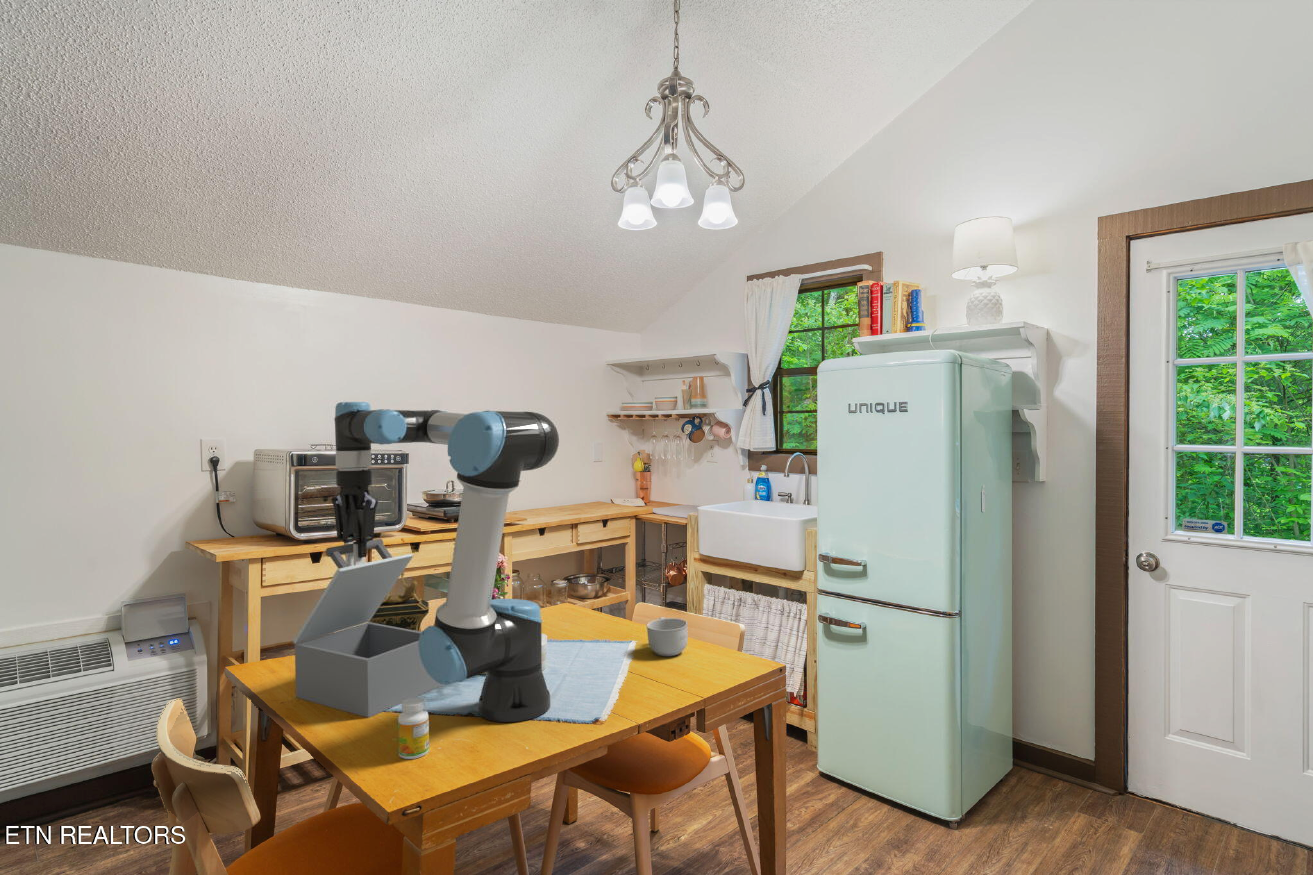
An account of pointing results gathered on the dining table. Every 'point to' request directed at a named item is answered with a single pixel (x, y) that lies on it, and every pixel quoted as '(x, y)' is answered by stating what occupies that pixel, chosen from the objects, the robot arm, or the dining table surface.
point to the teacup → (667, 636)
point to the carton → (362, 669)
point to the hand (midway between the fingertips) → (355, 570)
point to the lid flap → (353, 591)
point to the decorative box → (402, 609)
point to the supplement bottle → (413, 729)
